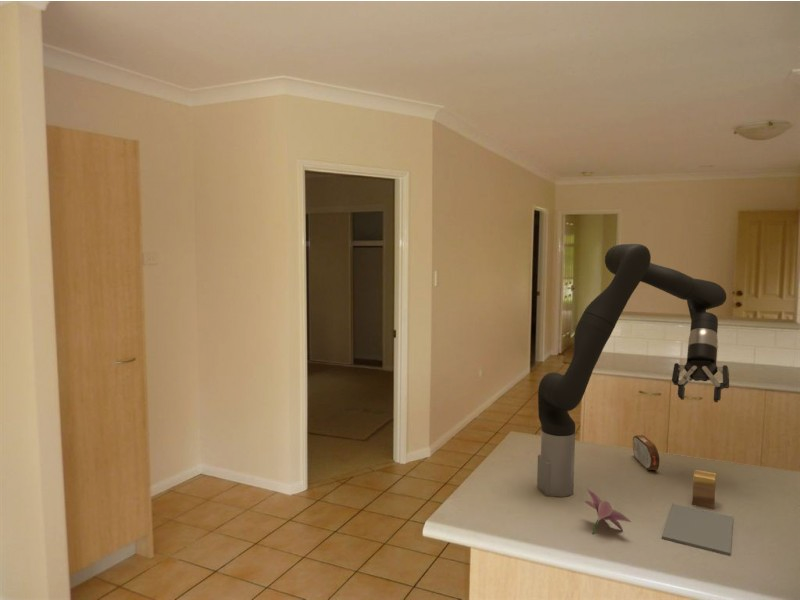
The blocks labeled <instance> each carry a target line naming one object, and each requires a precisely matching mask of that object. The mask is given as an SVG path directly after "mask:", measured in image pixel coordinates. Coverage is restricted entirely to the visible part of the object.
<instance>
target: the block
mask: <svg viewBox="0 0 800 600" xmlns="http://www.w3.org/2000/svg"><path fill="white" fill-rule="evenodd" d="M716 479H717V473H715V472H709V471H704V470H700V469H695V470H694V473H693V479H692V480H693V481H692V483H693V484H692V501H691V505H692V506H695V505H696V506H695V507H700V508H705V509H711V510H714V508H715V501H716V484H717V483H716V481H717V480H716Z"/></svg>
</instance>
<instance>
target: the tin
mask: <svg viewBox="0 0 800 600" xmlns="http://www.w3.org/2000/svg"><path fill="white" fill-rule="evenodd" d="M632 451H633V455H634V458H635V459H636V460H637V461H638V462H639V463H640V464H641V466H643V467H644V468H645V470H646V471H647V470H648V471H657V470H658V469H659V467H660V462H661V461H660V455H659V450H658V447H657V446H656V444H655V443H654V442H653V441H651V440H650V439H649V438H648V437H647V436H646V435H644V434H640V435H634V436H633V438H632Z"/></svg>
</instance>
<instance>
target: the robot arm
mask: <svg viewBox="0 0 800 600" xmlns="http://www.w3.org/2000/svg"><path fill="white" fill-rule="evenodd" d="M651 256H652V255H651V252H650V250H649V248H648V247H647V246H645V245H643V244H639V243H624V244H622V243H620V244H616V245H614V246H611V247H610V248H609V249H608V250H607V252H606V254H605V257H604V264H605V267H606V269H607V270H608V271H609V272H610V273H611V274H613V275H614V276H613V278H612V280H611V282H610V283H609V284H608V285H607V287H606V288H605V289H604V290H603V291H602V292H601V293H600V294H598V295H597V296H596V297H595V298H594V299H593V300H592V301H591V302H590V303H588V305H587V306H586V307H585V309H584V311H583V313H582V315H581V317H580V318H579V320H578V321H577V324H576V327H575V329H574V336H573V337H574V338H573V355H572V359H571V361H570V363H569V366H568V368H567V369H566V371H565V373H564V374H562V373H558V372H549V373H547V374H544V375H543V377H542V378H541V380H540V382H539V384H538V385H539V386H538V390H537V401H538V402H537V405H538V406H537V407H538V419H539V422H540V424H541V425H540V426H541V427H540V428H541V429H540V431H541V432H540V434H541V435H540V454H538V455H537V476H536V481H537V482H536V487H537V488H538V489H539V490H540V491H541V492H542V493H543V494H544V495H545V496H546V497H547V496H552V497H558V498H559V497H561V498H562V497H563V498H564V497H569V496H571V495H573V494H574V488H575V457H576V456H575V455H576V454H575V452H576V451H575V450H576V422H575V421H574V419H573V418H572V417H571V415H570V414H569V412H570V411H573V410H574V409H575V408H577V407H578V406H579V404H580V403H581V401H582V399H583V397H584V395H585V393H586V389H587V387H588V384H589V382H590V379H591V376H592V374H593V372H594V369H595V366H597V362H598V361H599V359H600V356H601V354H602V352H603V350H604V348H605V346H606V344H607V342H608V340H609V339H610V337H611V336H612V333H613V332H614V329H615V327H616V325H617V323H618V321H619V319H620V317H621V315H622V313H623V312H624V309H625V307H626V306H627V304H628V302H629V300H630V298H631V296H632V295H633V293H634V292H635V290H636V289H637V287H638V286H639V284H640V283H641V282H642V283H644V284H647V285H648V286H652V287H653V288H656V289H658V290H660V291H663V292H664V293H667V294H668V295H669V294H670V295H672V296H674V297H676V298H678V299H680V300H683V301H686V304H687V309H688V312H689V317H690V331H689V332H690V333H689V335H688V343H687V345H688V346H687V352H686V353H687V355H686V356H687V357H686V363H685V364H679V363H677V362H676V363H674V365H673V371H672V375H671V382H672V384H673V385H675V386H678V387H677V397H678V398H679V400H682V401H683V400H685V393H686V392H685V391H686V390H685V389H686V386H687V385H688V384H690V383H691V382H692V381H694V382H699V381H702V382H708V381H710V382H711V384H712V385H713V386H714V387H713V402H714V403H718V402H719V401H721V397H722V390H723V389H729V388H730V370H729V367H728V365H726V364H724V365H723V366H717V361H718V360H717V357H718V348H719V345H718V343H719V341H718V331H719V330H718V327H719V320H718V316H717V315H716V314H715V313H712V312H707V310H710V309H714V308H719V307H720V306H723V305H724V304H725V302H726V301H727V292H726V290H725V289H724V288H723V287H722V286H721V285H720V284H719V283H716V282H713V281H709V280H704V279H700V278H693V277H692V276H689V275H688V274H685V273H683V272H681V271H679V270H676V269H672V268H670V267H667V266H662V265H659V264H655V263H652V262H651V260H652V259H651V258H652V257H651ZM684 370H685V371H686V373H684V375H682V378H681V379H680V374H681V373H682V372H683V371H684ZM718 372H719V373H720V375H722V382H719V380H717V379H716V377H715V375H716V374H717V373H718Z"/></svg>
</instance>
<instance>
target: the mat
mask: <svg viewBox="0 0 800 600" xmlns="http://www.w3.org/2000/svg"><path fill="white" fill-rule="evenodd" d="M733 522H734V516H732V515H728V514H727V515H726V514H723V513H719V512H718V513H717V512H714V511H708V510H704V509H701V508H700V509H699V508H695V507H691V506H690V507H689V506H685V505H681V504H678V503H677V504H675V503H671V507H670V509H669V512H668V516H667V519H666V522H665V525H664V528H663V531H662V534H661V539H662V540H665V541H670V542H674V543H678V544H683V545H685V546H686V545H687V546H691V547H695V548H698V549H702V550H707V551H709V552H715V553H718V554H722V555H727V556H731V548H732V536H733V535H732V534H733Z"/></svg>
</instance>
